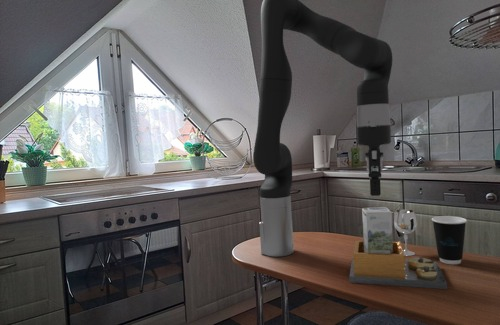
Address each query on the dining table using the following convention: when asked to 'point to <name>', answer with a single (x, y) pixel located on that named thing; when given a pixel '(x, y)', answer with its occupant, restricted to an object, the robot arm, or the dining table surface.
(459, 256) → the dixie cup
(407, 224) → the wineglass
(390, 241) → the syrup box
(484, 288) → the dining table surface
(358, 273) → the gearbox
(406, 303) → the dining table surface
